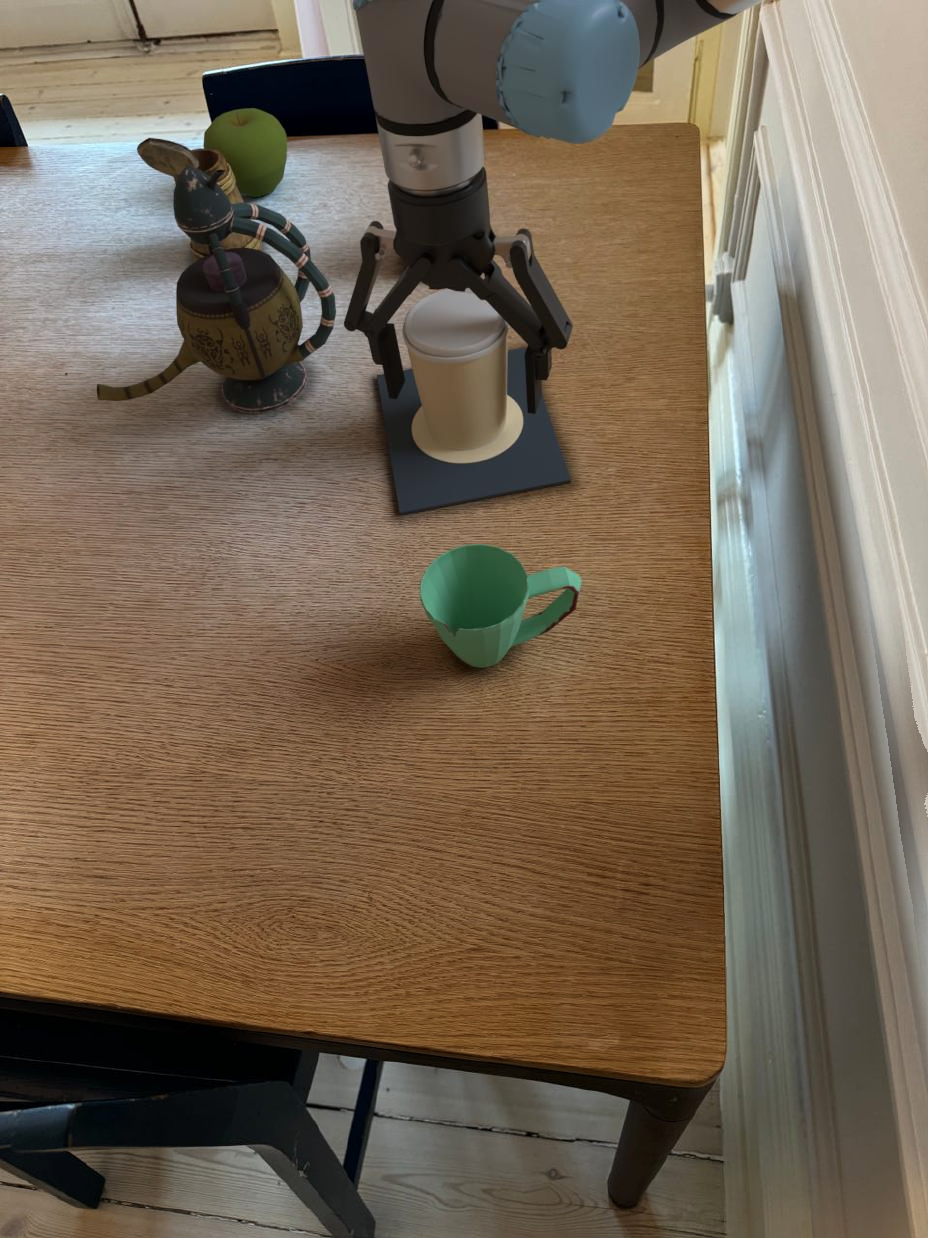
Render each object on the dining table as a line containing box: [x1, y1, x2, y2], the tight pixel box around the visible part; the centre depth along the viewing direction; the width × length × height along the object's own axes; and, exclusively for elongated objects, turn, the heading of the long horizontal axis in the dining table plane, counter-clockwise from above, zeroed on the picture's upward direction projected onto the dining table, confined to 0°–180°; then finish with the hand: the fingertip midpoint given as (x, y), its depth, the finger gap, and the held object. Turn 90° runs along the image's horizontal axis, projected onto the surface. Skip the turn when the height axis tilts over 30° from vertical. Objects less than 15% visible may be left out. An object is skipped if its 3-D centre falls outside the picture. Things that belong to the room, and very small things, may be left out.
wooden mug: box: [136, 137, 263, 263], centre depth 98 cm, size 9×14×18 cm, turn 173°
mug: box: [419, 543, 582, 669], centre depth 65 cm, size 12×8×8 cm, turn 99°
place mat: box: [376, 346, 572, 516], centre depth 84 cm, size 20×16×1 cm
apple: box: [202, 107, 288, 198], centre depth 111 cm, size 11×10×10 cm
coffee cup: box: [401, 288, 510, 450], centre depth 79 cm, size 9×9×12 cm
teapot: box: [96, 165, 337, 414], centre depth 81 cm, size 12×25×23 cm, turn 111°
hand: (464, 396), depth 81 cm, fingers open, 13 cm apart
